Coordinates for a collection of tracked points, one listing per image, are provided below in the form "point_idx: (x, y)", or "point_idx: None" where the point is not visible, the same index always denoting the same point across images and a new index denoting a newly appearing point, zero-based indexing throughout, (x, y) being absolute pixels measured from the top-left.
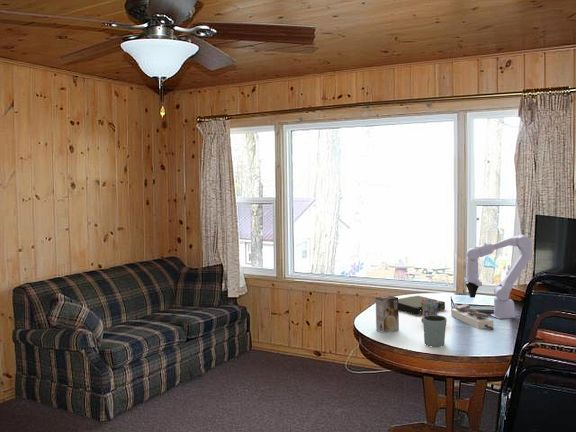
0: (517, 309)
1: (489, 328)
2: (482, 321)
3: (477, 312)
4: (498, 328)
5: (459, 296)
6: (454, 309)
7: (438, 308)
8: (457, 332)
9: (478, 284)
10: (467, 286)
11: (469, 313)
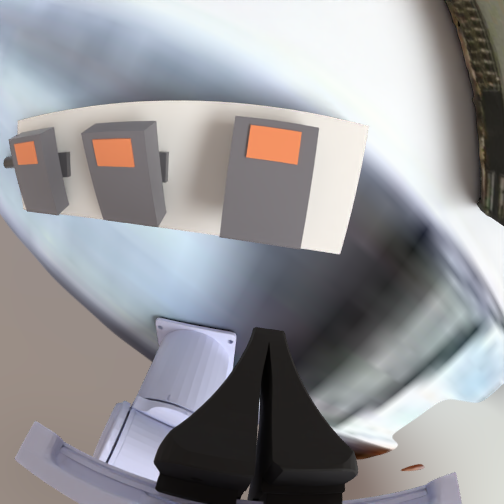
0: None
1: None
2: None
3: (32, 159)
4: None
5: (501, 376)
6: (344, 141)
7: (485, 152)
8: (47, 9)
9: (25, 439)
10: (305, 437)
11: None
